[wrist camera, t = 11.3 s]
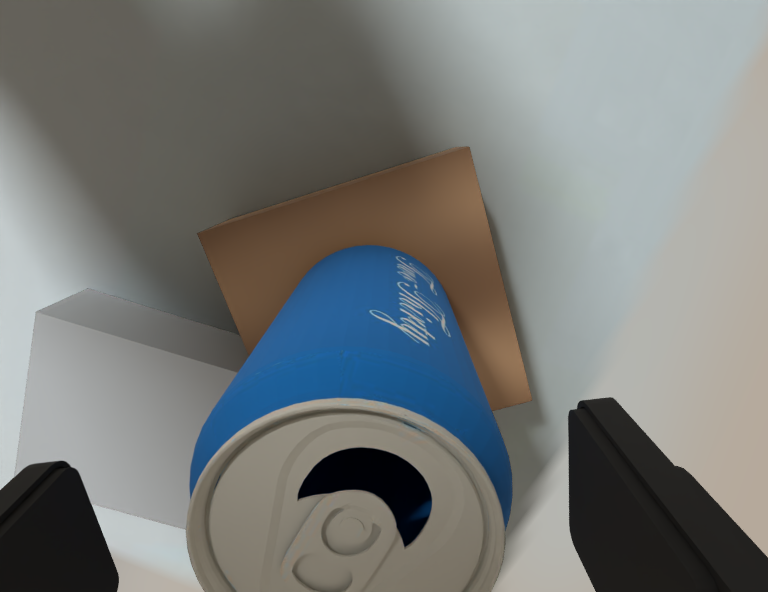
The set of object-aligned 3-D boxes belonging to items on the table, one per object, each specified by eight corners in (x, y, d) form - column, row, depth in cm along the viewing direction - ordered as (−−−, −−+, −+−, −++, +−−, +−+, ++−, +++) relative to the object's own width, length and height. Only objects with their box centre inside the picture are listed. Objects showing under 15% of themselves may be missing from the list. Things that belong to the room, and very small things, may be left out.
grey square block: (91, 286, 24) (35, 311, 20) (265, 340, 25) (242, 374, 21) (67, 435, 27) (13, 482, 23) (226, 480, 27) (199, 533, 24)
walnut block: (229, 219, 23) (197, 233, 19) (455, 147, 22) (469, 146, 18) (308, 416, 26) (294, 463, 22) (510, 361, 25) (532, 400, 21)
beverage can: (479, 288, 20) (606, 485, 8) (401, 413, 21) (415, 724, 10) (336, 211, 19) (251, 308, 7) (267, 348, 20) (108, 602, 9)
